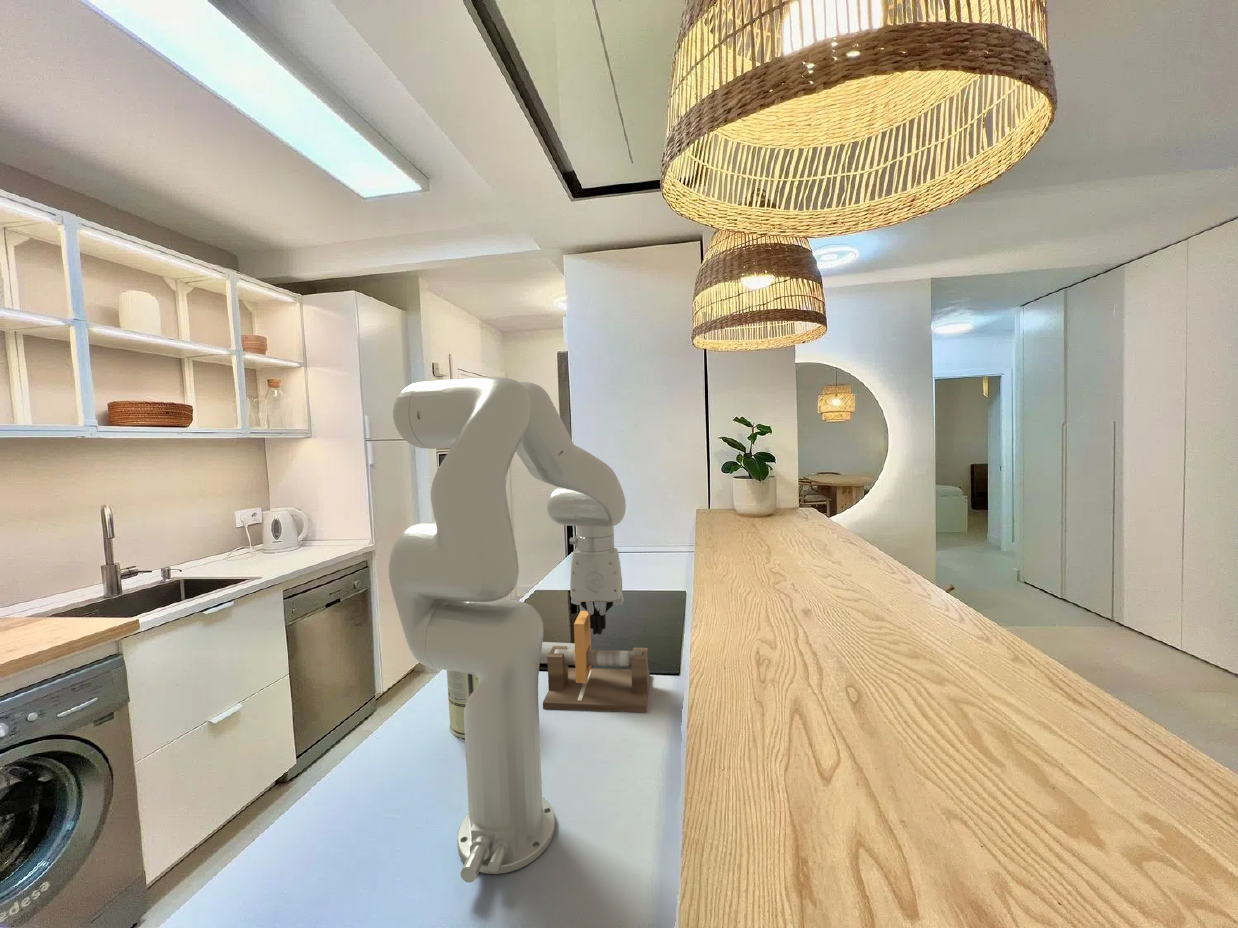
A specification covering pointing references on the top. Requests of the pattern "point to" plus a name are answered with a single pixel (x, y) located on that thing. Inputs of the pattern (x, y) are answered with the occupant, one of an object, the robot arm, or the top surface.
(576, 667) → the orange flat block
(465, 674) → the coffee can
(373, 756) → the top surface
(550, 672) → the pipe stand
